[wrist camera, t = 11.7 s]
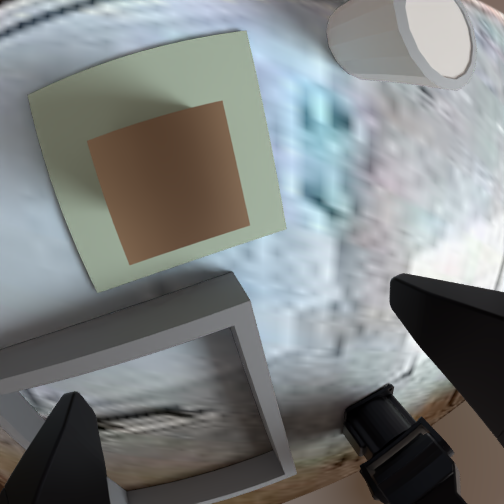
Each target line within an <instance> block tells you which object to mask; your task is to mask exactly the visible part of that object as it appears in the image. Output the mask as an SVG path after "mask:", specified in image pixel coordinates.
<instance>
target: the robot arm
mask: <svg viewBox="0 0 504 504" xmlns="http://www.w3.org/2000/svg"><path fill="white" fill-rule="evenodd" d="M390 306H391V308H392V310H393V311H394V313H395V314H396V315H397V317H398V318H399V319H400V321H401V322H402V323H403V325H404V326H405V328H406V329H407V330H408V332H409V333H410V334H411V336H412V337H413V339H414V340H415V341H416V343H417V344H418V345H419V346H420V348H421V349H422V350H423V351H424V352H425V353H426V355H427V356H428V357H429V358H430V359H431V360H432V361H433V362H434V364H435V365H436V366H437V367H438V368H439V369H440V370H441V372H442V373H443V374H444V375H445V376H446V377H447V379H448V380H449V381H450V382H451V383H452V384H453V386H454V387H455V388H456V389H457V390H458V392H459V393H460V394H461V395H462V396H463V397H464V399H465V400H466V401H467V402H468V404H469V405H470V406H471V407H472V408H473V409H474V411H475V412H476V413H477V414H478V416H479V417H480V418H481V419H482V420H483V422H484V423H485V424H486V426H487V427H488V428H489V429H490V431H491V432H492V433H493V434H494V436H495V437H496V438H497V440H498V441H499V442H500V443H501V445H502V446H503V448H504V292H500V291H495V290H490V289H484V288H479V287H474V286H469V285H464V284H458V283H453V282H448V281H442V280H437V279H432V278H427V277H421V276H416V275H411V274H405V273H402V274H399V275H397V276H395V277H393V278H392V279H391V281H390ZM393 390H394V386H393V385H392V384H390V385H388V386H387V387H385V388H383V389H382V390H380V391H378V392H376V393H375V394H373V395H371V396H369V397H367V398H366V399H364V400H362V401H360V402H358V403H356V404H355V405H353V406H351V407H349V408H347V409H346V410H345V422H344V429H343V434H344V435H345V437H346V438H347V440H348V441H349V443H350V444H351V446H352V447H353V448H354V450H355V451H356V453H357V454H358V456H363V455H364V456H365V458H366V459H367V460H368V461H367V462H365V463H363V464H361V465H360V468H361V470H360V473H361V474H362V476H363V477H364V479H365V481H366V483H367V485H368V487H369V490H370V492H371V494H372V497H373V498H374V500H380V501H381V502H382V503H384V504H467V503H466V502H465V501H464V500H463V498H462V497H461V495H460V473H459V470H458V468H457V466H456V465H455V463H454V461H453V460H452V459H451V458H450V457H451V456H452V455H454V452H453V450H452V449H451V448H450V446H449V445H448V444H447V443H446V442H445V440H444V439H443V438H442V437H441V436H440V435H439V434H438V433H437V432H436V431H435V430H434V429H433V428H432V427H431V426H430V425H429V424H428V423H427V422H426V421H425V419H424V418H423V417H422V416H421V417H420V418H419V419H418V421H417V422H416V421H415V420H414V419H413V418H412V416H411V415H410V414H409V413H408V412H407V411H406V410H405V409H404V407H403V406H402V405H401V404H400V403H399V402H398V401H397V399H396V398H395V397H394V396H393ZM423 434H424V435H423ZM0 504H111V503H110V497H109V490H108V482H107V474H106V467H105V461H104V456H103V452H102V447H101V442H100V437H99V431H98V425H97V419H96V415H95V413H94V411H93V409H92V408H91V407H90V406H89V404H88V403H87V402H86V401H85V400H84V398H83V397H82V396H81V395H80V393H78V392H75V391H74V392H70V393H66V394H64V395H63V396H62V397H61V399H60V400H59V402H58V403H57V404H56V406H55V407H54V409H53V410H52V412H51V413H50V415H49V416H48V418H47V419H46V421H45V422H44V424H43V425H42V427H41V428H40V430H39V431H38V433H37V434H36V436H35V437H34V439H33V441H32V442H31V444H30V445H29V447H28V448H27V450H26V452H25V453H24V455H23V456H22V458H21V460H20V461H19V463H18V464H17V466H16V468H15V469H14V471H13V473H12V474H11V476H10V478H9V479H8V481H7V483H6V484H5V488H3V490H2V491H1V493H0Z"/></svg>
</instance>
